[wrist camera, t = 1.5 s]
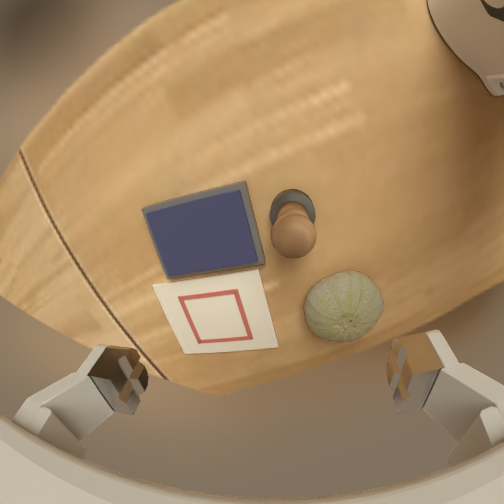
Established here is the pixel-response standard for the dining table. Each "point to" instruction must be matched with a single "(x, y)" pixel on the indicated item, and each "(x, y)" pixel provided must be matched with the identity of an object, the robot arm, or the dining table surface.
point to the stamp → (293, 223)
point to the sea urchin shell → (343, 306)
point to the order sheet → (219, 313)
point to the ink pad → (205, 231)
